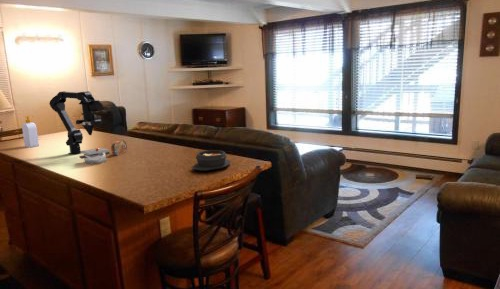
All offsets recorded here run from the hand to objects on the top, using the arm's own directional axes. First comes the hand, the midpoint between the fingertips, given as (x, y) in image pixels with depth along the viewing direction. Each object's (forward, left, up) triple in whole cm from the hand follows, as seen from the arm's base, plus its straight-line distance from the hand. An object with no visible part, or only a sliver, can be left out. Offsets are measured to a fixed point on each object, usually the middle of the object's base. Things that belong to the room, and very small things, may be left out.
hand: (90, 135), depth 245 cm
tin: (+16, +8, -13) cm, 22 cm away
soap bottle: (-69, +4, -13) cm, 71 cm away
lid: (+19, -14, -7) cm, 25 cm away
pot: (+19, -14, -13) cm, 27 cm away
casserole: (+93, 0, -13) cm, 94 cm away
